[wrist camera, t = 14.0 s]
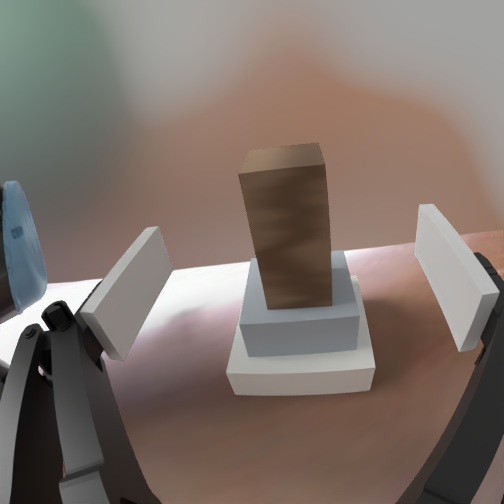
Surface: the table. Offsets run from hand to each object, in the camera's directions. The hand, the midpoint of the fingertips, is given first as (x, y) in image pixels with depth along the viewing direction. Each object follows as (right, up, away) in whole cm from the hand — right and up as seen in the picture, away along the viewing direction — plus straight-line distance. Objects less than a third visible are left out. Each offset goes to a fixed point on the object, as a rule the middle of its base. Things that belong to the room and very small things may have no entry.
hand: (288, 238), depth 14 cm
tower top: (+3, -7, +13) cm, 15 cm away
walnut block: (+2, -3, +10) cm, 11 cm away
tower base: (+3, -10, +15) cm, 18 cm away
